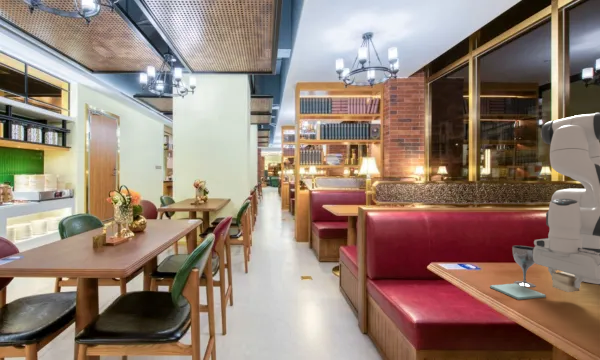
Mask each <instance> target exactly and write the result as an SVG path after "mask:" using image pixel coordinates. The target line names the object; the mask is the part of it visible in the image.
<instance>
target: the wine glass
mask: <svg viewBox="0 0 600 360" xmlns="http://www.w3.org/2000/svg"><path fill="white" fill-rule="evenodd" d="M534 247H535V246H527V245H512V256H513V259H514V261H515V263H516V264H517V265H518V266H520V268H521V270H522V274H523V277H522V278H523V280H521V281H520V280H516V281H513V284H515V283H516V284H518V285H521V286H524V287H526V288H537V287H536V286H537V285H536V284H534V283H533V282H532V283H531V282H528V281H527V279H526V277H527V271H528V269H529V268H531V267H532V266H533V265H535V264H536V263H535V262H534V260H533V250H534Z"/></svg>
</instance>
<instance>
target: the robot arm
mask: <svg viewBox="0 0 600 360" xmlns="http://www.w3.org/2000/svg"><path fill="white" fill-rule="evenodd" d="M540 137H541V139H542V142H543V143H545V144H546V145H548V146H549V145H550V147H549V162H550V167H551V168H552V169H553V170H554V171H555V172H557V173H558V174H561V175H562V176H565V177H569V178H571V179H572V180H574V181H576V182H578V183H580V184H581V185H582V186H583V187H584V188H564V189H558V190H556V191H554V193H553V194H552V196H551V200H550V201H549V205H548V211H547V212H546V213H545V224H546V226H547V227H548V228H549V230H548V231H549V232H548V234H547V236H548V237H546V238H540V239H534V241H533V244H534V246H533V247H534V250H533V260H534V262H535V263H534V264H535V265H539V266H542V267H545V268H548V269H547V270H548V272H549V274H550V275H551V277H552V273H557V271H558V272H566V273H569V274H573V275H575V278H577V279H576V280H575V281H574V282H572V287H575V288H579V289H580V288H581V283H582V282H585V283H589V284H594V285H595V284H596V285H600V112H595V113H586V114H578V115H577V114H576V115H574V116H568V117H565V118H560V119H556V120H554V119H553V120H550V121H547V122H545V123H543V125H542V126H541V130H540ZM551 281H553V279H552V278H551Z"/></svg>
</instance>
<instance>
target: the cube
mask: <svg viewBox="0 0 600 360" xmlns="http://www.w3.org/2000/svg"><path fill="white" fill-rule="evenodd" d="M552 279H553V280H552ZM576 279H577V278H575V275H573V274H569V273H566V272H563V271H558V272H557V271H556V273H552V276H551V280H552V288H555V289H556V290H557V289H558V290H561V291H564V292H567V293H571V292H580V288H575V287H572V282H574V281H575V280H576Z"/></svg>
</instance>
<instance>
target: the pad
mask: <svg viewBox="0 0 600 360" xmlns="http://www.w3.org/2000/svg"><path fill="white" fill-rule="evenodd" d="M489 287H490V288H491V289H492V290H495V291H496V292H497V291H498V292H499V293H501V294H505V295H507V296H509V297H511V298H513V299H516V300H518V301H519V300H530V299H531V300H532V299H541V298H546V297H547V295H546V294H545V293H542V292H539V291H538V290H537V291H536V290H534V289H532V288H530V287H524V286H521V285H518V284H516V283H505V284H490V285H489Z"/></svg>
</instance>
